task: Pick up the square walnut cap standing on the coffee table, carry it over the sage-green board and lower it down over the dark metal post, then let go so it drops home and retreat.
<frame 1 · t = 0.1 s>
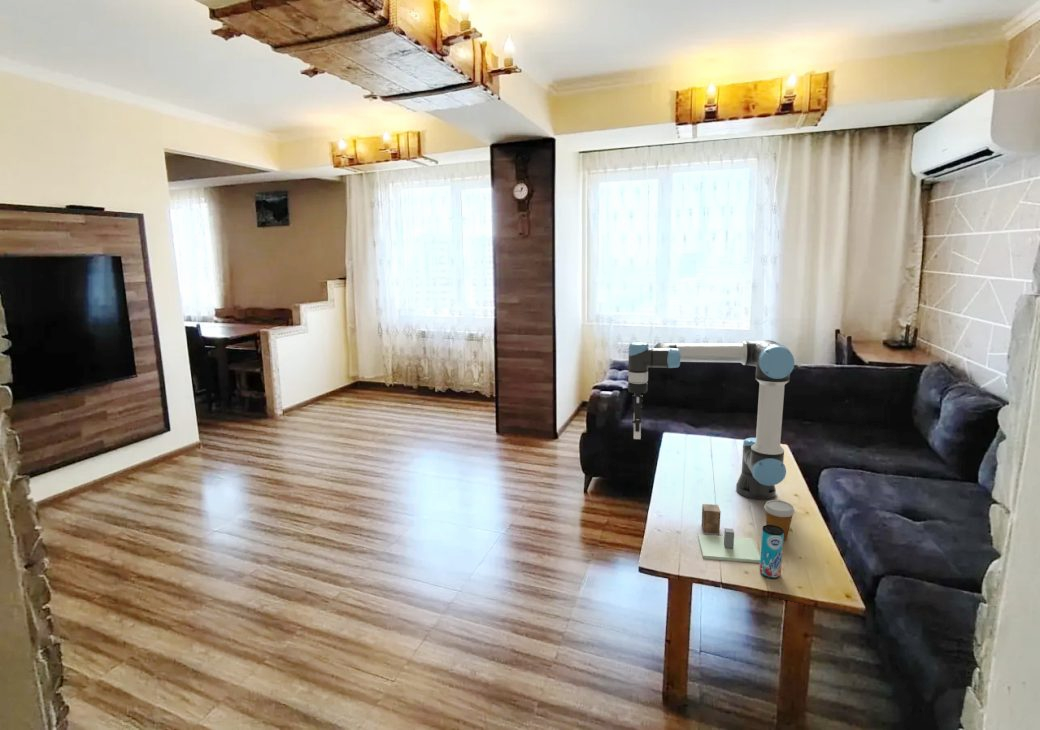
hand: (636, 433, 216), 28 cm above the table, fingers open, 13 cm apart
post board: (728, 549, 181), on the table
disposable coffee cup: (777, 537, 188), on the table
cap: (710, 529, 194), on the table
beverage can: (769, 574, 167), on the table
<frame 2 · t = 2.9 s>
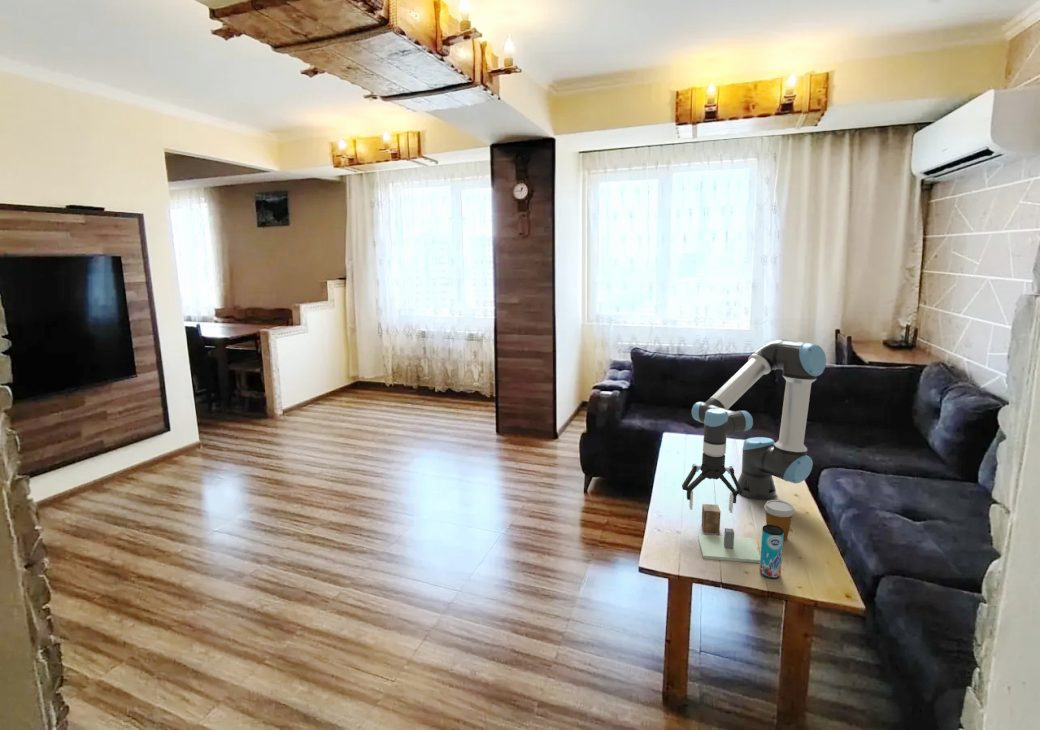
hand: (710, 509, 193), 8 cm above the table, fingers open, 13 cm apart
nothing on the table moved.
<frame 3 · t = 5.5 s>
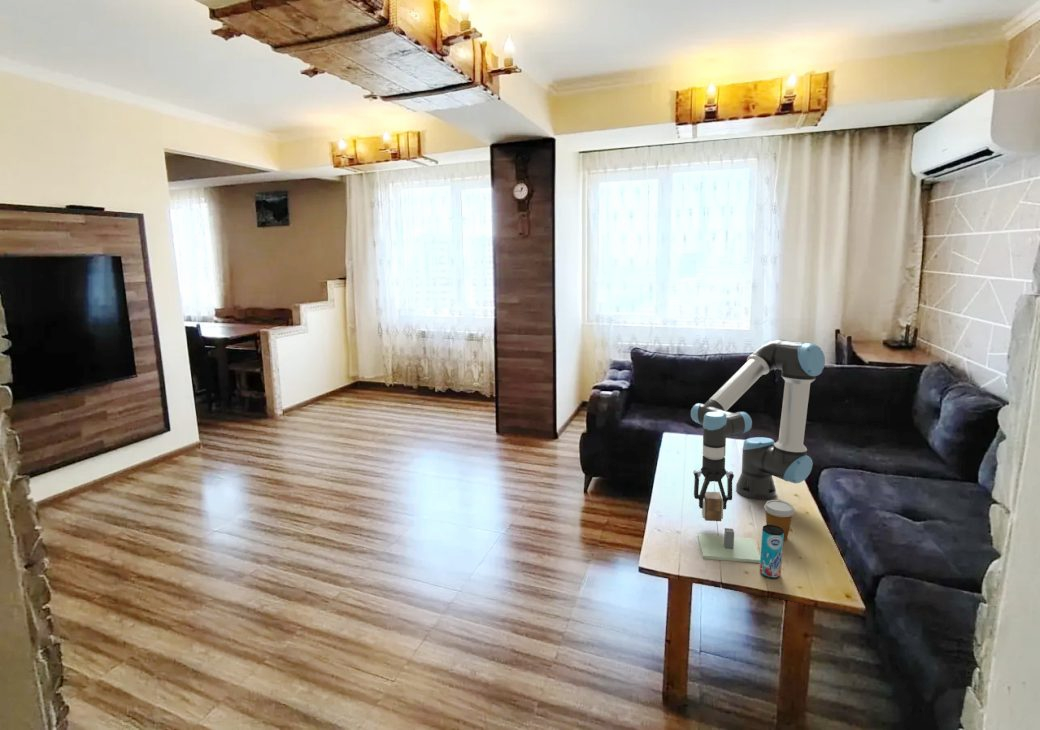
hand: (712, 516, 194), 5 cm above the table, fingers closed on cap, 5 cm apart
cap: (712, 517, 194), point 5 cm above the table, touching gripper
everything else where it was.
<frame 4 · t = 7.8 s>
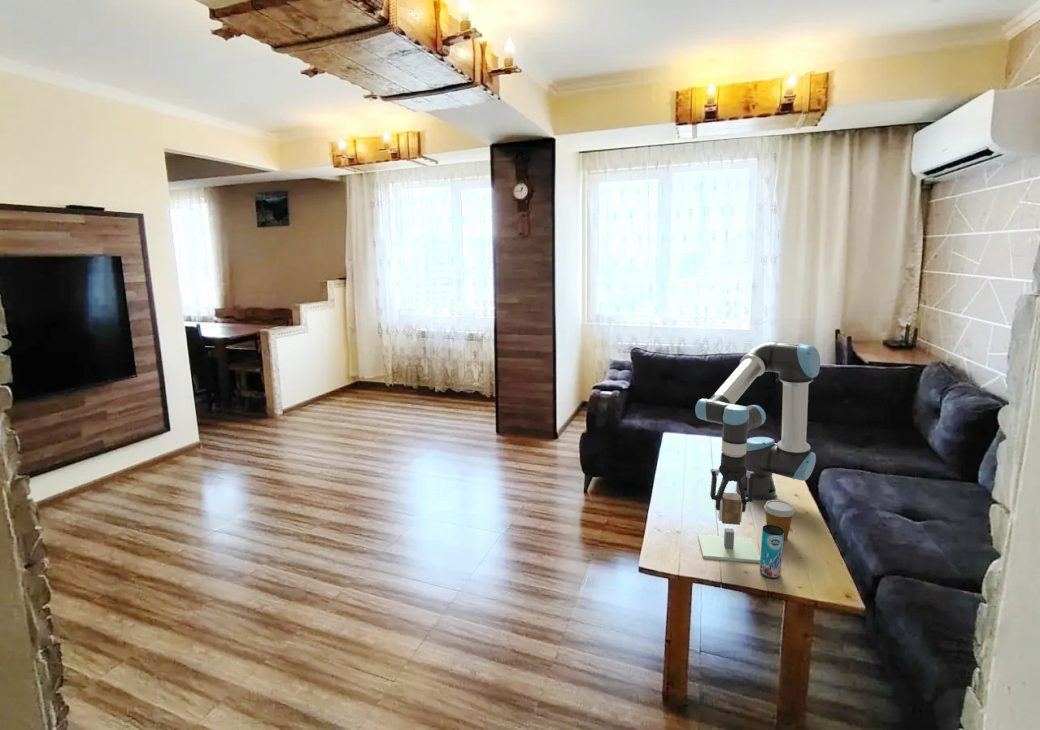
hand: (729, 519, 179), 11 cm above the table, fingers closed on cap, 5 cm apart
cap: (729, 520, 179), point 11 cm above the table, touching gripper
everything else where it was.
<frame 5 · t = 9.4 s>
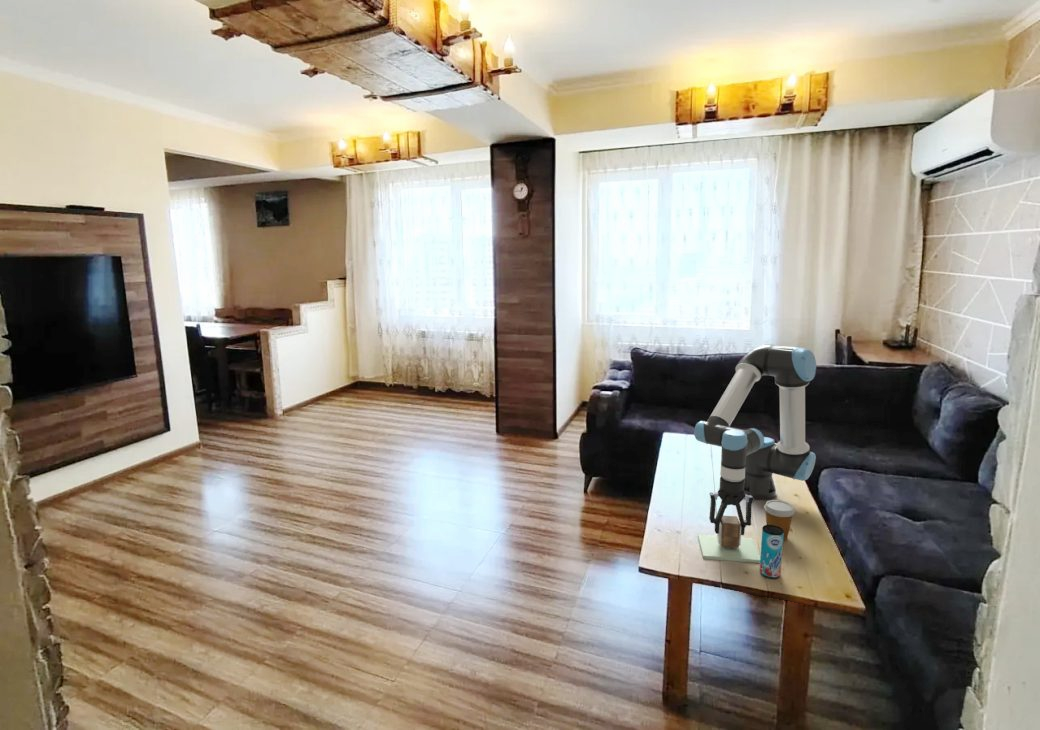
hand: (728, 542, 180), 3 cm above the table, fingers closed on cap, 5 cm apart
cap: (728, 543, 180), point 2 cm above the table, touching gripper
everything else where it was.
when the fingers open (2 cm above the table, at t = 10.4 s): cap stays where it is, resting on post board.
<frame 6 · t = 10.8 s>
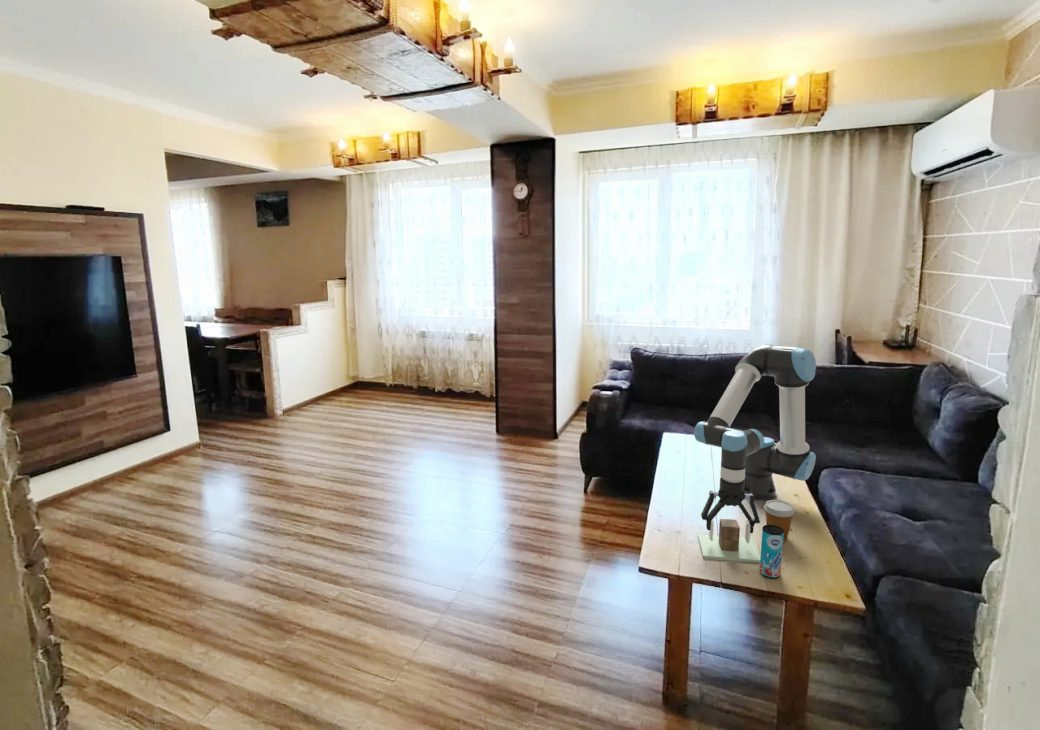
hand: (728, 539, 180), 3 cm above the table, fingers open, 11 cm apart
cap: (728, 546, 181), point 1 cm above the table, touching post board
everything else where it was.
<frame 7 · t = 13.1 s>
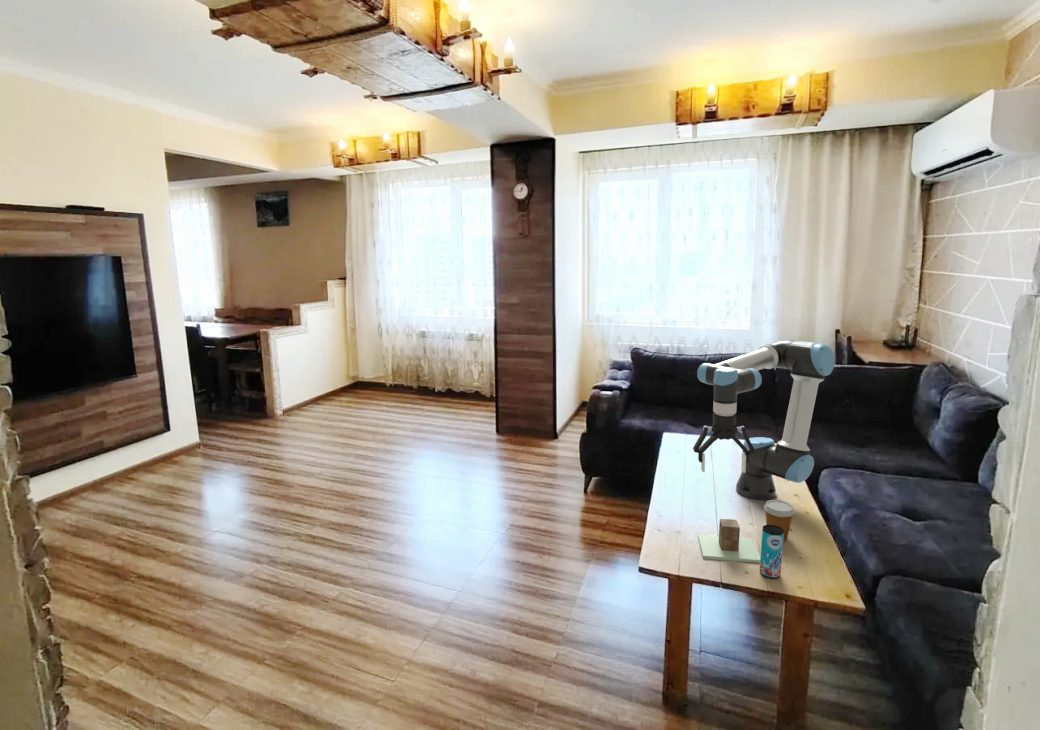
hand: (723, 470, 189), 23 cm above the table, fingers open, 13 cm apart
nothing on the table moved.
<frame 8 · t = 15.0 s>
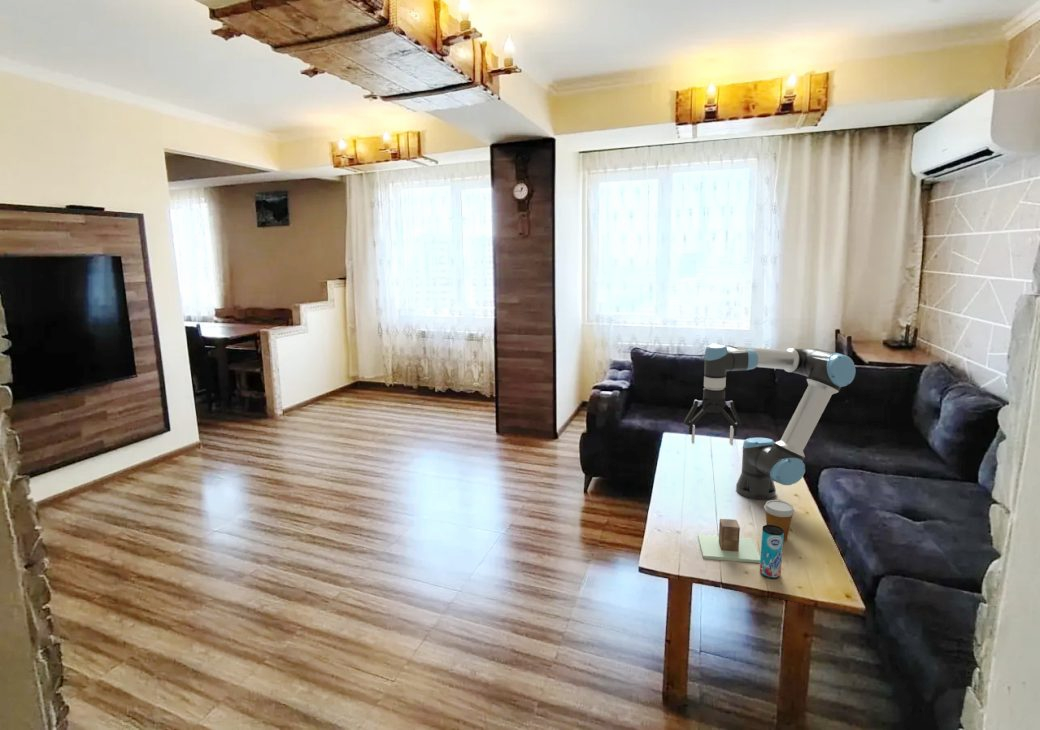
hand: (711, 443, 200), 29 cm above the table, fingers open, 13 cm apart
nothing on the table moved.
at the end: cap 0.1 cm from the post board (horizontally); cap point 1.0 cm above the table; the gripper is holding nothing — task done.
